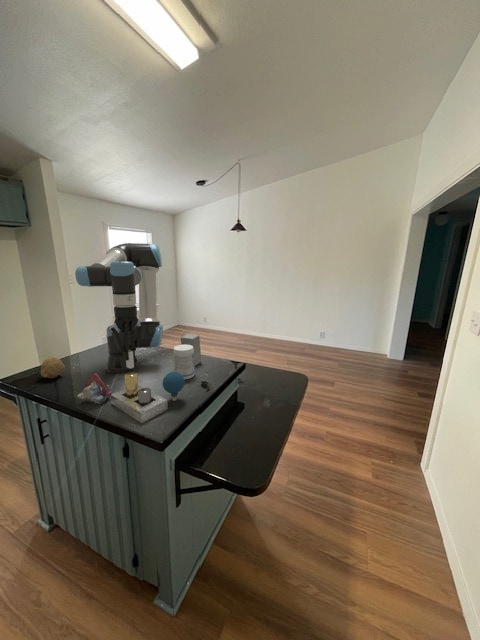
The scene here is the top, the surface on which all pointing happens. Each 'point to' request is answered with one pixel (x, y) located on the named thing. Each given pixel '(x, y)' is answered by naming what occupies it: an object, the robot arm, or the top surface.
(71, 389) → the top surface
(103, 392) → the grey red irregular piece
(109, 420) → the top surface
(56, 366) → the natural sponge
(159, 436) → the top surface
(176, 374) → the light bulb
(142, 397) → the jig
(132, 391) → the brass bushing
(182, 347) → the supplement tub
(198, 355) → the skincare box
